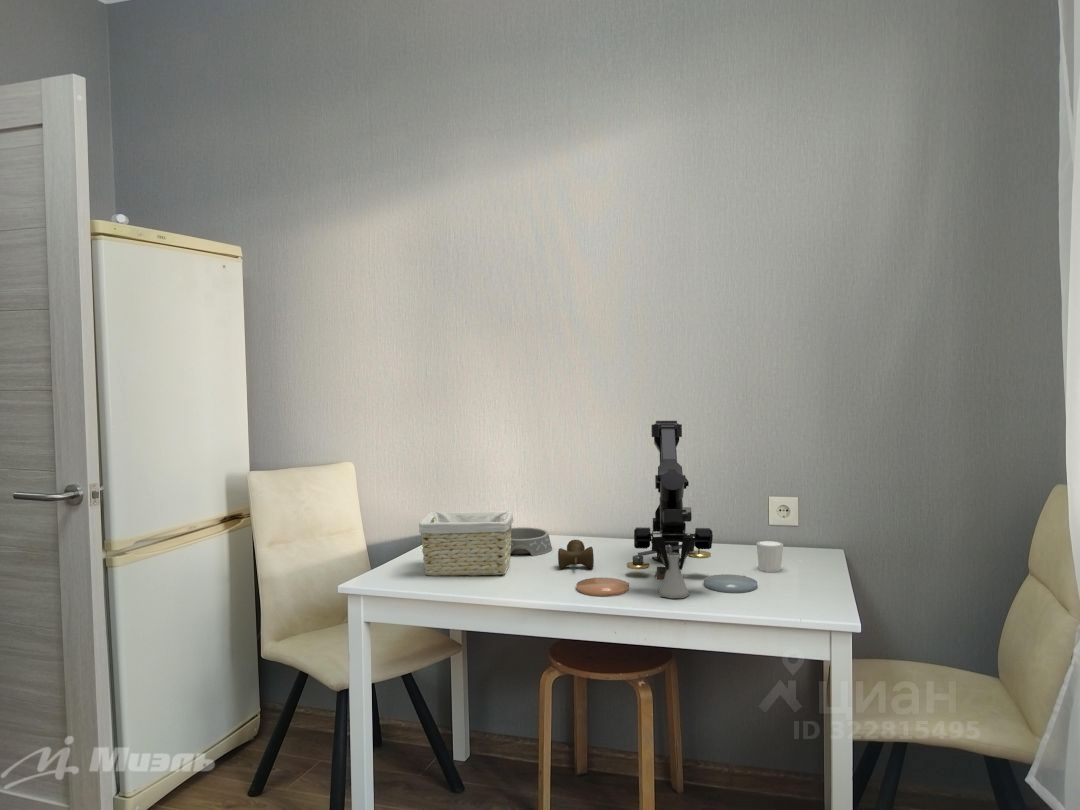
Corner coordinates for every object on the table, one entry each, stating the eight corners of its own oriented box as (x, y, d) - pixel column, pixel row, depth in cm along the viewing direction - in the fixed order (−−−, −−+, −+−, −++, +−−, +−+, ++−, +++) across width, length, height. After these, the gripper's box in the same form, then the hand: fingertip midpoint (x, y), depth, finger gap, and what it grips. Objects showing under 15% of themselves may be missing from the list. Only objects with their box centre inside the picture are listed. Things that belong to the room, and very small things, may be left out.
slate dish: (693, 582, 208) (693, 578, 208) (733, 575, 213) (733, 571, 213) (726, 595, 196) (726, 591, 196) (768, 588, 202) (768, 584, 202)
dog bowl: (552, 557, 237) (552, 538, 236) (488, 558, 237) (488, 539, 237) (552, 543, 254) (552, 526, 254) (492, 544, 254) (492, 527, 254)
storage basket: (418, 577, 217) (416, 522, 216) (430, 562, 233) (429, 510, 232) (508, 578, 215) (507, 522, 214) (515, 562, 231) (514, 510, 230)
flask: (691, 592, 199) (691, 551, 199) (686, 600, 193) (686, 558, 192) (661, 589, 202) (661, 549, 201) (656, 598, 195) (655, 556, 194)
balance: (625, 578, 212) (625, 543, 212) (627, 570, 220) (626, 536, 220) (711, 580, 209) (711, 545, 208) (710, 572, 217) (709, 538, 216)
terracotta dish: (567, 585, 206) (567, 581, 206) (611, 578, 212) (611, 575, 212) (593, 599, 195) (593, 595, 195) (639, 591, 201) (639, 587, 200)
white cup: (784, 573, 215) (784, 546, 215) (757, 572, 217) (757, 545, 216) (782, 566, 222) (782, 540, 222) (755, 565, 223) (755, 539, 223)
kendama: (592, 557, 237) (594, 574, 217) (559, 558, 237) (558, 575, 217) (592, 536, 237) (593, 551, 217) (558, 537, 237) (557, 552, 217)
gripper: (633, 494, 201) (634, 550, 190) (711, 495, 199) (716, 551, 188) (633, 520, 209) (634, 574, 199) (708, 520, 207) (713, 576, 197)
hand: (674, 569), depth 195 cm, fingers closed on flask, 3 cm apart
